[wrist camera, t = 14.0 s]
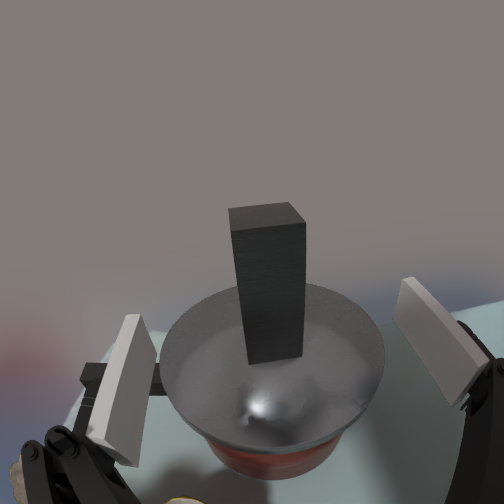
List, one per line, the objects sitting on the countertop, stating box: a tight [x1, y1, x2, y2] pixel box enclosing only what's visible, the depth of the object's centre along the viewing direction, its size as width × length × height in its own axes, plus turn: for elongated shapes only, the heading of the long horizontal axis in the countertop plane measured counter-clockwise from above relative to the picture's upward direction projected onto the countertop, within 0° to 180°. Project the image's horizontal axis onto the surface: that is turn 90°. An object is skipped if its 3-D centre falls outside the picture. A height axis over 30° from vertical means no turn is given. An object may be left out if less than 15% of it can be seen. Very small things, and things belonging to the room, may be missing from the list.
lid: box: [159, 202, 385, 455], centre depth 18 cm, size 18×18×12 cm
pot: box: [80, 363, 343, 480], centre depth 24 cm, size 27×17×12 cm, turn 96°
